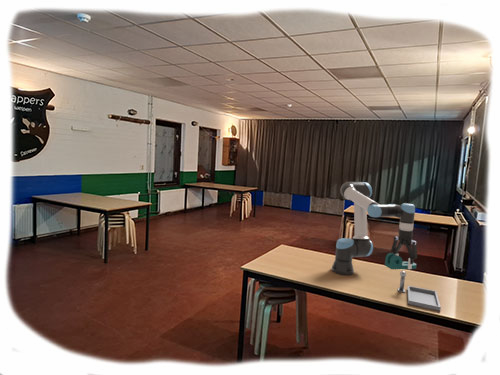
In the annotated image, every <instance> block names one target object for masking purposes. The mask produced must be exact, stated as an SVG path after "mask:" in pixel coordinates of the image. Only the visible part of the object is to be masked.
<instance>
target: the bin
mask: <svg viewBox="0 0 500 375" xmlns="http://www.w3.org/2000/svg"><path fill="white" fill-rule="evenodd" d="M406 289H407V303H408V304H407V305H410V306H413V307H418V308H423V309H427V310H432V311H437V312H441V310H442V309H441V308H442V307H441V304H440V303H441V302H440V299H439V296H438V292H437V290H433V289H428V288H424V287H423V288H422V287H418V286H413V285H407V288H406Z"/></svg>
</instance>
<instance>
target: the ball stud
mask: <svg viewBox="0 0 500 375" xmlns="http://www.w3.org/2000/svg"><path fill="white" fill-rule="evenodd" d="M399 274H400V281H399V287H398V288H397V292H399V293H406V289H405V281H406V277H407V272H406V271H405V270H404V271H403V270H401V271H400V273H399Z"/></svg>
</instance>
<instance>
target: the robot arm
mask: <svg viewBox="0 0 500 375" xmlns="http://www.w3.org/2000/svg"><path fill="white" fill-rule="evenodd" d="M340 194H341V197H343V198H344V199H346V200H348V201H352V202H353V211H354V212H353V215H354V217H353V218H354V220H353V222H354V225H353V226H354V236H352V238H349V237H344V238H343V237H342V238H339V239H337V241H336V243H335V244H336V245H335V257H334V261H333V263H332V266H331V271H332V272H333V273H335V274H338V275H341V276H351V275H354V273H355V272H354V265H353V258H359V257H361V258H362V257H363V258H364V257H369V256H371V255H372V254H373V250H374V245H373V242H372V241H371V240H370V237H369V236H368V223H367V222H368V219H367V218H368V216H369V217H371V218H399V226H398V227H399V229H398V236H393V242H392V245H391V250H390V253H393V254H395V255H397V256H399V255H400V254H399V251H400V250H401V248H402V247H403V245H404V246H405V247H406V249H407V252H408V255H409V258H408V259H407V260H408V261H407V262H408V269H407V270H413V269H412V264H413V263H415V262H414V261H415V260H416V259H417V258H418V250H417V248H418V246H417V244H418V241H416V240H413V236H414V232H413V230H414V224H415V223H414V222H415V215H416V214H415V213H416V206H415V204H412V203H407V202H404V203H402V204H401V205H399V204H395V203H389V204H380V203H379V202H376V201H375V200H373V199H371V197H372V195H373V189H372V186H371V185H370V184H369V182H366V181H365V182H364V181H347V182H344V183H343V184H342V185H341V187H340ZM367 215H368V216H367ZM399 257H400V256H399Z"/></svg>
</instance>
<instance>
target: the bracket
mask: <svg viewBox="0 0 500 375" xmlns="http://www.w3.org/2000/svg"><path fill="white" fill-rule="evenodd" d="M384 260H385V261H384V266H385V267H386V268H389V269H390V270H409V269H408V261H403V258H402V257H401V256H397V255H395V254H394V253H393V252H389V253H387V254H386V256H385V259H384ZM416 269H417V263H415V262H413V264H412V269H411V270H416Z"/></svg>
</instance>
